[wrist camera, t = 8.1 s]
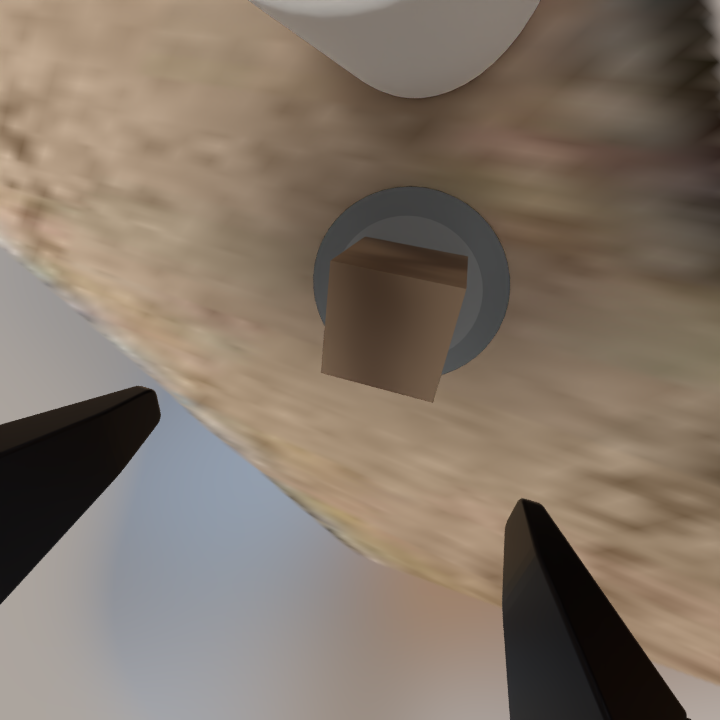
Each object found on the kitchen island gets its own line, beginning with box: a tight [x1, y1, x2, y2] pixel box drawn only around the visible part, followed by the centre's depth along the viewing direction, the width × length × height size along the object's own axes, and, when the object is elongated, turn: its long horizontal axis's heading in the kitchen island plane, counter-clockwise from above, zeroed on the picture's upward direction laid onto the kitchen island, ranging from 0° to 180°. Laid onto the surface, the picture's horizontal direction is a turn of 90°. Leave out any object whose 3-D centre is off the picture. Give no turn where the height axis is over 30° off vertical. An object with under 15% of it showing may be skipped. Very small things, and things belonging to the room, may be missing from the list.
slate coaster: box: [313, 187, 510, 375], centre depth 18 cm, size 10×10×1 cm
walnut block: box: [321, 237, 468, 403], centre depth 16 cm, size 5×5×5 cm
